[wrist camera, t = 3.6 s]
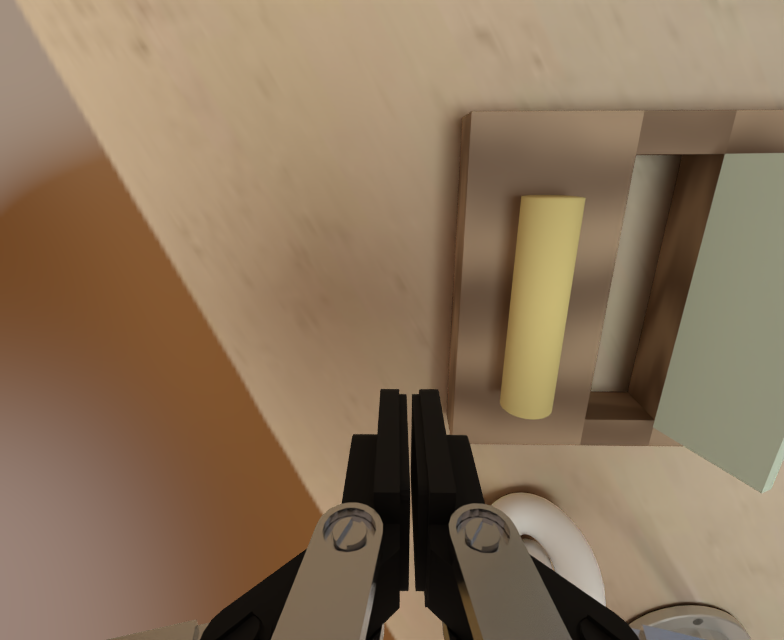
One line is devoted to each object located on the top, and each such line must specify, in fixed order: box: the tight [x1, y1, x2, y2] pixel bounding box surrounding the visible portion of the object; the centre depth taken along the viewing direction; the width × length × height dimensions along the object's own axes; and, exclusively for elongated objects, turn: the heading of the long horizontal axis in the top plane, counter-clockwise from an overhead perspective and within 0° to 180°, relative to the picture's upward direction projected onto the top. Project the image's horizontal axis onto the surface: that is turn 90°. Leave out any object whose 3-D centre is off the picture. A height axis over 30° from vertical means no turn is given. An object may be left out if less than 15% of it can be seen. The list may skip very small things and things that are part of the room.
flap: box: [653, 153, 784, 493], centre depth 21 cm, size 16×6×1 cm
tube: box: [500, 195, 586, 419], centre depth 23 cm, size 12×3×3 cm, turn 0°
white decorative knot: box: [491, 492, 606, 607], centre depth 31 cm, size 11×12×9 cm
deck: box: [447, 110, 784, 446], centre depth 25 cm, size 20×20×6 cm
